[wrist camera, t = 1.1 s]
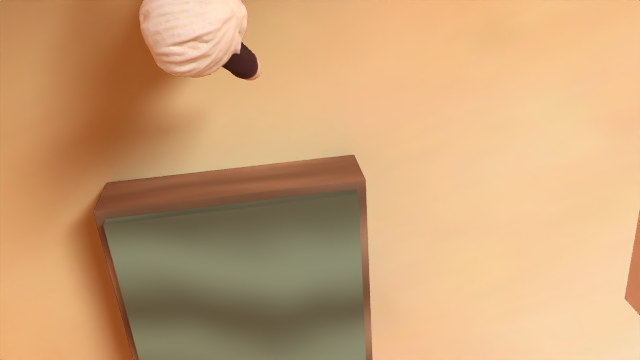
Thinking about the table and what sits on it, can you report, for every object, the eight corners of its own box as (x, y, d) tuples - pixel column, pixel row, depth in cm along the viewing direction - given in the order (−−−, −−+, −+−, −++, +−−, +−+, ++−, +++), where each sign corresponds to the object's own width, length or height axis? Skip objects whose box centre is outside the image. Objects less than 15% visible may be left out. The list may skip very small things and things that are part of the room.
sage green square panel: (106, 182, 33) (90, 217, 29) (354, 154, 34) (367, 184, 30) (154, 372, 39) (146, 419, 35) (362, 342, 40) (375, 386, 36)
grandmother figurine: (117, -50, 28) (32, -17, 16) (173, -110, 27) (125, -118, 16) (233, 67, 31) (230, 163, 19) (287, 16, 30) (316, 86, 19)
